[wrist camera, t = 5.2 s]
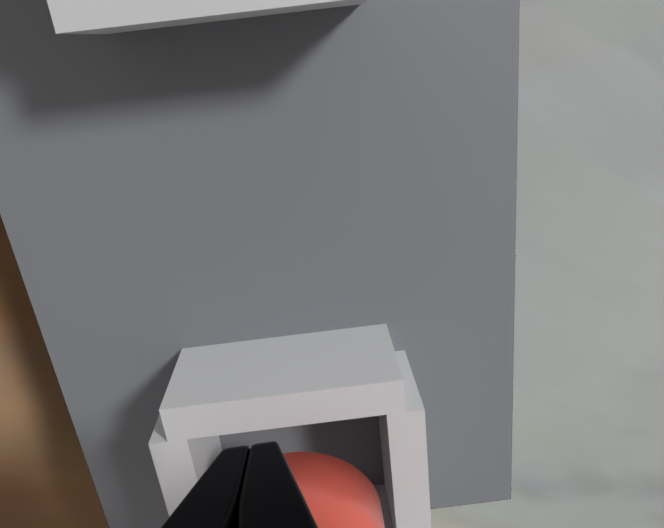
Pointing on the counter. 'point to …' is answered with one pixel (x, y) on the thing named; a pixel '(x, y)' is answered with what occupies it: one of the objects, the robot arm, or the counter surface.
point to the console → (270, 236)
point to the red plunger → (336, 491)
